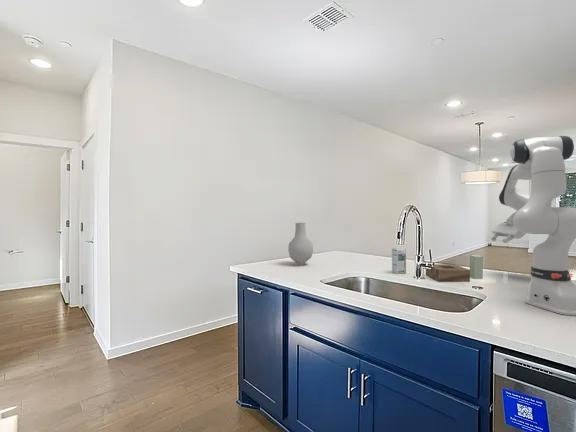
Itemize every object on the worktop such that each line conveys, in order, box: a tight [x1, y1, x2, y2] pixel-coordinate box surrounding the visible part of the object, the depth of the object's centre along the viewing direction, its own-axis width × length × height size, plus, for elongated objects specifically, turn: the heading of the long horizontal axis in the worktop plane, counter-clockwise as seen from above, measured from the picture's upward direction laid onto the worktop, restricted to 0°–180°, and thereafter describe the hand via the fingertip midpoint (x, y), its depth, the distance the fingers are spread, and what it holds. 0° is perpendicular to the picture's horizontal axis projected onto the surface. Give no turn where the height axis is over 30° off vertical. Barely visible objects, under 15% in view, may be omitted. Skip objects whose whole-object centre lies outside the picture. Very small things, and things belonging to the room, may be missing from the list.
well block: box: [425, 263, 471, 283], centre depth 178 cm, size 16×16×6 cm
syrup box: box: [391, 247, 407, 275], centre depth 193 cm, size 6×6×14 cm
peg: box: [469, 254, 484, 280], centre depth 179 cm, size 4×4×12 cm
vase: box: [288, 222, 314, 266], centre depth 220 cm, size 17×16×28 cm
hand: (498, 241), depth 178 cm, fingers open, 8 cm apart
